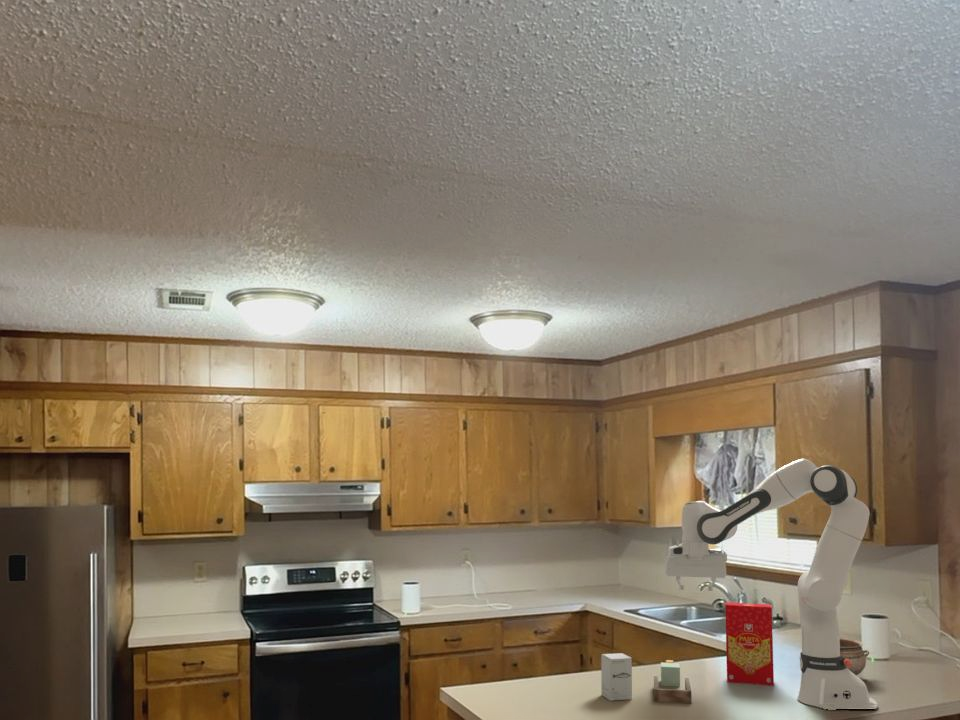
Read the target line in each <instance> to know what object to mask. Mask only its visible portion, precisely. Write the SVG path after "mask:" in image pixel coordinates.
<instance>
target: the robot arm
mask: <svg viewBox="0 0 960 720" xmlns="http://www.w3.org/2000/svg"><path fill="white" fill-rule="evenodd" d="M857 485H858V484H857V482H856V481H855V480H854V478H853V477H852V476H850V474H848V472H846V471H845V470H843V469H841V468H840V467H839V468H838V467H836V466H834V465H831V464H830V465H828V464H827V465H822V466H820V467H817V465H816V464H815V463H814V462H813V461H811V460H809V459H808V458H807V459H806V458H800V459H797V460H794V461H792V462H790V463H788V464H786V465H784V466H782V467H780V468H778V469H777V470H775V471H773V472H772V473H770V474H769V475H768V476H767V477H765V478H764V479H763V480H762V481H761V482H760V483H758V485H757V486H756V487H754V488H753V489H752V490H751V491H749V493H748V494H746V495H745V496H744V497H742V498H741V499H739V500H737V501H736V502H734V503H732V504H731V505H729V506H728V507H726V508H724V509H722V510H720V509H718V508H716V507H713V506H711V505H710V504H708V503H707V502H706V501H704V500H696V501H691V502H687V503H685V504H684V505H683V506H682V510H681V531H682V537H681V543H678V544H675V545H671V546H670V547H669V548H668V553H669V554H668V555H667V557H666V561H665V574H666V576H668V577H675V580H676V582H677V584H678V585H679V591H685V584H683V583H681V577H683V578H684V577H686V578H710V579H711V583H710V584H708V585H707V591H708V592H713V590H714V589H713V587H714V585H715V583H716V582H717V579H725V578H726V576H727V565H726V563H727V561H728V554H727V552H725V551H724V550H723V549H709V547H710V546H709V545H718V544H720V543H722V542H724V541H727V540H730V539H731V538H732V537H734V536H735V534H736V533H737V531H738V525H740V524H742V523H743V522H744V521H747V520H748V519H749V518H751V517H754V516H755V515H757V514H760V513H763V512H767V511H772V510H776V509H779V508H782V507H785V506H788V505H790V504H791V503H793V502H795V501H796V500H799V499H800V498H801V497H803V496H804V495H807V494H810V493H814V494H815V495H816V496H817V498H820V499H821V500H822V501H823V502H825V504H827V505H828V506H830V509H831V511H830V515H829V518H828V520H827V523H826V524H825V527H824V529H823V531H822V534H821V536H820V539H819V541H818V543H817V546H816V547H815V550H814V551H815V553H814V556H813V558H812V562H811V565H810V568H809V570H806V571H804V572H803V573H802V574H801V575H800V576H799V579H798V580H797V581H798V582H797V596H798V609H799V610H798V611H799V618H800V635H801V636H800V637H801V640H800V641H801V651H800V657H799V666H800V671H801V677H800V678H801V679H800V686H799V691H798V695H797V700H798V701H799V702H801V703H803V704H806V705H808V706H812V707H817V708H820V709H822V708H823V709H822V710H826V709H828V710H827V711H837V710H836V709H847V708H875V707H876V706H877V707H878V703H877V701H876V700H875V699H873V698H872V697H871V696H870V694H869V690H868V687H867V685H866V683H865V682H864V681H863V680H862V679H861V678H859V676H857V675H855V674H854V673H852V672H851V671H850V670H849V669H847V667H850V665H851V664H852V663H851V661H850V660H849V659H846V658H845V657H843V656H842V655H840V639H839V637H840V626H839V621H838V612H837V607H838V606H839V604H840V603H841V600H842V596H843V593H844V592H845V591H844V590H845V587H846V585H847V581H848V578H849V576H850V575H849V574H850V572H851V571H850V570H851V568H852V564H853V562H854V559H855V558H856V555H857V552H858V550H859V548H860V546H861V544H862V541H863V539H864V537H865V534H866V530H867V527H868V523H869V518H870V515H871V513H870V512H871V511H870V509H869V507H868V506H867V505H866V504H865V503H864V501H861V500H860V499H857V498H856V497H857V495H858V486H857ZM869 697H870V698H869Z"/></svg>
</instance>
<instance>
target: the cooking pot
mask: <svg viewBox="0 0 960 720" xmlns="http://www.w3.org/2000/svg"><path fill="white" fill-rule="evenodd" d="M839 639H840V655H842V656H843V657H845V658H846V659H849V660H850V661H851V663H852V664H851V665H850V667H847V669H849V670H850V671H851V672H852V673H854V674H855V675H856V676H857V675H859V674H861V673H862V672H863V671H864V669H865V668H866V665H867V659H866V657H868V656H869V655H870V651H869V650H868V649H863V647H862V646H863V645H864V643H863V642H862V641H859V640H857V639H853V638H848V637H841V636H839Z"/></svg>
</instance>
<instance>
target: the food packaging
mask: <svg viewBox="0 0 960 720" xmlns="http://www.w3.org/2000/svg"><path fill="white" fill-rule="evenodd" d="M772 608H773V607H772V604H765V603H746V602H745V603H744V602H743V603H742V602H729V601H726V602H725V643H726V647H725V648H726V653H725V655H726V683H737V684H747V685H748V684H749V685H761V686H772V687H773V686H774V685H775V684H774V680H775V679H774V676H775V675H774V674H775V673H774V647H773V646H774V645H773V644H774V643H773V642H774V641H773V638H774V637H773V609H772Z"/></svg>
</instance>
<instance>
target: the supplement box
mask: <svg viewBox="0 0 960 720" xmlns="http://www.w3.org/2000/svg"><path fill="white" fill-rule="evenodd" d="M600 656H601V658H600V660H601V662H600V664H601V665H600V666H601V667H600V670H601V676H600V677H601V680H600V681H601V684H600V685H601V690H600V691H601V696H603V697H604V698H605V699H606V700H608V701H610V702H612V701H622V700H623V701H624V700H630V701H631V700H632V699H633V681H632V680H633V674H632V673H633V672H632V671H633V664H632V663H633V658H632V657H631V656H629V655H627V654H626V653H622V652H620V653H619V652H618V653H602V654H601V655H600Z"/></svg>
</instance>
